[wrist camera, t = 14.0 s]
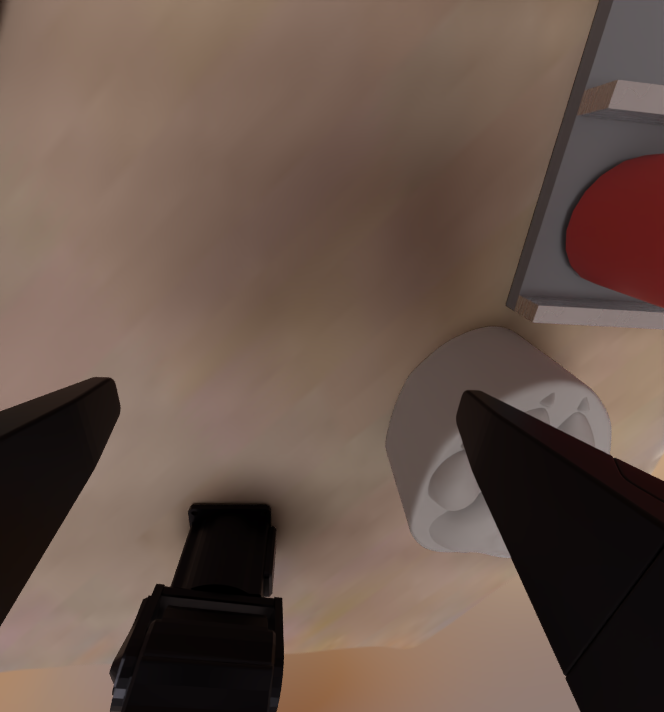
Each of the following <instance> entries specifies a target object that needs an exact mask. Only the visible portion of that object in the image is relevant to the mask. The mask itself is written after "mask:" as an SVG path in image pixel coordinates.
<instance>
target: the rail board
mask: <svg viewBox="0 0 664 712" xmlns="http://www.w3.org/2000/svg"><path fill="white" fill-rule="evenodd" d="M652 154H664V0H600V1H599V4H598V8H597V11H596V14H595V17H594V21H593V24H592V27H591V30H590V34H589V37H588V40H587V43H586V47H585V50H584V53H583V56H582V60H581V63H580V66H579V69H578V72H577V76H576V79H575V82H574V85H573V89H572V92H571V95H570V98H569V102H568V105H567V108H566V111H565V115H564V118H563V121H562V124H561V128H560V131H559V134H558V137H557V141H556V144H555V147H554V150H553V154H552V157H551V160H550V163H549V167H548V170H547V173H546V176H545V180H544V183H543V186H542V189H541V193H540V196H539V199H538V202H537V206H536V209H535V212H534V215H533V219H532V222H531V225H530V228H529V232H528V235H527V238H526V241H525V245H524V248H523V251H522V254H521V258H520V261H519V264H518V267H517V271H516V274H515V277H514V280H513V284H512V287H511V290H510V293H509V297H508V300H507V303H506V306H507V307H509V308H510V309H512V310H514V311H515V312H517V313H518V314H520V315H522V316H523V317H525V318H526V319H528V320H530V321H531V322H533V323H552V324H571V325H590V326H609V327H628V328H647V329H664V308H662V307H659V306H656V305H653V304H650V303H648V302H645V301H642V300H639V299H636V298H634V297H631V296H628V295H625V294H622V293H619V292H617V291H614V290H611V289H608V288H605V287H603V286H600V285H597V284H594V283H592V282H590V281H588V280H586V279H583V278H581V277H580V276H579V275H578V273H577V272H576V271H575V270H574V269H573V268H572V266H571V265H570V262H569V259H568V255H567V252H566V230H567V227H568V224H569V221H570V219H571V216H572V213H573V210H574V209H575V207H576V205H577V204H578V202H579V201H580V199H581V198H582V196H583V194H584V193H585V191H586V190H587V189H588V188H589V187H590V186H591V185H592V184H593V183H594V182H595V181H596V180H597V179H598V178H599V177H600V176H601V175H603V174H604V173H606V172H607V171H609V170H611V169H612V168H614V167H616V166H617V165H619V164H621V163H622V162H624V161H626V160H630V159H633V158H637V157H640V156H644V155H652Z"/></svg>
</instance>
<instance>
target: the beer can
mask: <svg viewBox="0 0 664 712" xmlns="http://www.w3.org/2000/svg"><path fill="white" fill-rule="evenodd" d="M566 252H567V255H568V259H569V262H570V265H571V266H572V268H573V269H574V270H575V271H576V272H577V273H578V275H579V276H580V277H581V278H583V279H586V280H588V281H590V282H592V283H594V284H597V285H600V286H603V287H605V288H608V289H611V290H614V291H617V292H619V293H622V294H625V295H628V296H631V297H634V298H636V299H639V300H642V301H645V302H648V303H650V304H653V305H656V306H659V307H662V308H664V154H652V155H644V156H640V157H637V158H633V159H630V160H626V161H624V162H622V163H621V164H619V165H617V166H616V167H614V168H612V169H611V170H609V171H607V172H606V173H604V174H603V175H601V176H600V177H599V178H598V179H597V180H596V181H595V182H594V183H593V184H592V185H591V186H590V187H589V188H588V189H587V190H586V191H585V193H584V194H583V196H582V198H581V199H580V201H579V202H578V204H577V205H576V207H575V209H574V210H573V213H572V216H571V219H570V221H569V224H568V227H567V230H566Z"/></svg>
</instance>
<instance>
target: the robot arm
mask: <svg viewBox="0 0 664 712" xmlns="http://www.w3.org/2000/svg"><path fill="white" fill-rule="evenodd" d="M119 415H120V402H119V397H118V393H117V388H116V384H115V381H114V380H113V379H112V378H108V377H93V378H90V379H87V380H84V381H82V382H79V383H76V384H74V385H71V386H68V387H65V388H63V389H60V390H57V391H54V392H52V393H49V394H46V395H44V396H41V397H38V398H35V399H33V400H30V401H27V402H24V403H22V404H19V405H16V406H14V407H11V408H8V409H5V410H3V411H0V626H1V624H2V623H3V621H4V619H5V618H6V616H7V614H8V613H9V611H10V609H11V608H12V606H13V604H14V603H15V601H16V599H17V598H18V596H19V594H20V593H21V591H22V589H23V588H24V586H25V584H26V583H27V581H28V579H29V578H30V576H31V574H32V573H33V571H34V569H35V568H36V566H37V564H38V563H39V561H40V559H41V558H42V556H43V554H44V553H45V551H46V549H47V548H48V546H49V544H50V543H51V541H52V539H53V538H54V536H55V534H56V533H57V531H58V529H59V528H60V526H61V524H62V523H63V521H64V519H65V518H66V516H67V514H68V513H69V511H70V509H71V508H72V506H73V504H74V503H75V501H76V499H77V498H78V496H79V494H80V493H81V491H82V489H83V488H84V486H85V484H86V483H87V481H88V479H89V478H90V476H91V474H92V472H93V471H94V469H95V467H96V465H97V463H98V461H99V459H100V457H101V455H102V452H103V450H104V448H105V446H106V444H107V441H108V439H109V437H110V435H111V433H112V430H113V428H114V426H115V424H116V422H117V419H118V417H119ZM456 424H457V427H458V430H459V433H460V436H461V440H462V443H463V446H464V449H465V452H466V455H467V458H468V461H469V464H470V467H471V470H472V472H473V475H474V477H475V479H476V482H477V484H478V486H479V488H480V490H481V493H482V495H483V497H484V499H485V501H486V504H487V506H488V508H489V510H490V513H491V515H492V517H493V519H494V521H495V524H496V526H497V528H498V530H499V532H500V535H501V537H502V539H503V541H504V543H505V546H506V548H507V550H508V552H509V554H510V557H511V559H512V561H513V563H514V565H515V568H516V570H517V572H518V574H519V576H520V579H521V581H522V583H523V585H524V587H525V590H526V592H527V594H528V596H529V598H530V601H531V603H532V605H533V607H534V610H535V612H536V614H537V616H538V618H539V620H540V623H541V625H542V627H543V629H544V632H545V634H546V636H547V638H548V640H549V643H550V645H551V647H552V649H553V651H554V653H555V656H556V658H557V660H558V663H559V665H560V667H561V669H562V671H563V674H564V675H565V676H566V681H567V683H568V685H569V687H570V690H571V692H572V694H573V696H574V698H575V701H576V703H577V705H578V707H579V709H580V712H664V481H662V480H660V479H658V478H656V477H654V476H652V475H650V474H648V473H646V472H644V471H642V470H640V469H638V468H636V467H633V466H631V465H629V464H627V463H625V462H623V461H621V460H619V459H617V458H613V457H612V456H611V455H609V454H607V453H605V452H603V451H601V450H599V449H597V448H595V447H593V446H591V445H589V444H587V443H585V442H583V441H581V440H579V439H577V438H575V437H573V436H571V435H569V434H567V433H565V432H563V431H561V430H559V429H557V428H555V427H553V426H551V425H549V424H547V423H545V422H543V421H541V420H539V419H537V418H535V417H533V416H531V415H529V414H527V413H525V412H523V411H521V410H519V409H517V408H515V407H513V406H511V405H509V404H507V403H505V402H503V401H501V400H499V399H497V398H495V397H493V396H491V395H489V394H487V393H485V392H483V391H480V390H465V391H464V392H463V394H462V396H461V400H460V403H459V407H458V410H457V414H456ZM188 516H189V523H190V530H189V533H188V536H187V539H186V542H185V545H184V548H183V551H182V554H181V557H180V560H179V563H178V566H177V569H176V572H175V575H174V578H173V581H172V584H171V587H167V586H165V585H163V584H156V586H155V588H154V591H153V593H152V595H151V596H148V597H147V598H145V599H143V601H142V604H141V606H140V609H139V611H138V614H137V616H136V619H135V621H134V624H133V626H132V628H131V630H130V632H129V634H128V636H127V637H126V639H125V641H124V643H123V645H122V646H121V648H120V650H119V652H118V654H117V656H116V657H115V659H114V661H113V664H112V666H111V669H110V673H109V674H110V676H111V679H112V681H113V683H114V687H113V691H112V695H113V699H112V703H111V708H110V712H276V711H277V708H278V703H279V698H280V692H281V685H282V678H283V665H284V640H283V608H282V598H279V597H274V598H266V597H270V595H271V594H272V590H273V578H274V566H275V554H276V528H275V527H274V526H271V507H270V506H268V505H192V506H191V507H190V508H189V511H188Z"/></svg>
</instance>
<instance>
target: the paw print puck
mask: <svg viewBox="0 0 664 712" xmlns="http://www.w3.org/2000/svg"><path fill="white" fill-rule="evenodd" d="M465 390H480V391H483V392H485V393H487V394H489V395H491V396H493V397H495V398H497V399H499V400H501V401H503V402H505V403H507V404H509V405H511V406H513V407H515V408H517V409H519V410H521V411H523V412H525V413H527V414H529V415H531V416H533V417H535V418H537V419H539V420H541V421H543V422H545V423H547V424H549V425H551V426H553V427H555V428H557V429H559V430H561V431H563V432H565V433H567V434H569V435H571V436H573V437H575V438H577V439H579V440H581V441H583V442H585V443H587V444H589V445H591V446H593V447H595V448H597V449H599V450H601V451H603V452H605V453H607V454H609V455H610V449H611V422H610V419H609V416H608V413H607V411H606V408H605V406H604V405H603V403H602V402H601V400H600V399H599V397H598V396H597V395H596V394H595V392H594V391H593V390H592V389H591V388H589V387H588V386H587V385H585V384H584V383H583V382H581V381H580V380H579V379H578V378H576V377H575V376H574V375H572V374H571V373H570V372H568V371H567V370H566V369H564V368H563V367H562V366H560V365H559V364H557V363H556V362H555V361H553V360H552V359H551V358H549V357H548V356H547V355H545V354H544V353H543V352H541V351H540V350H538V349H537V348H536V347H534V346H533V345H532V344H530V343H529V342H527V341H526V340H525V339H523V338H522V337H521V336H519V335H518V334H516V333H515V332H513V331H512V330H509V329H507V328H503V327H496V326H489V327H482V328H478V329H475V330H472V331H469V332H466V333H464V334H462V335H459V336H457V337H455V338H453V339H451V340H449V341H448V342H446V343H445V344H443V345H442V346H440V347H439V348H438V349H437V350H435V351H434V352H433V353H432V354H431V355H429V356H428V357H427V358H426V359H425V360H424V361H423V362H422V363H420V364H419V365H418V366H417V367H416V368H415V369H414V370H413V371H412V372H411V374H410V375H409V376H408V378H407V380H406V381H405V383H404V385H403V387H402V390H401V392H400V394H399V397H398V399H397V402H396V404H395V407H394V410H393V413H392V416H391V419H390V424H389V428H388V432H387V436H386V451H387V455H388V458H389V461H390V465H391V468H392V472H393V475H394V478H395V482H396V485H397V488H398V492H399V495H400V498H401V502H402V505H403V508H404V511H405V515H406V518H407V521H408V525H409V529H410V532H411V534H412V536H413V537H414V539H415V540H416V541H417V542H418V543H419V544H420V545H421V546H423V547H424V548H426V549H429V550H432V551H438V552H462V553H467V552H478V553H483V554H487V555H492V556H496V557H503V558H511V557H510V554H509V552H508V550H507V548H506V546H505V543H504V541H503V539H502V537H501V535H500V532H499V530H498V528H497V526H496V524H495V521H494V519H493V517H492V515H491V513H490V510H489V508H488V506H487V504H486V501H485V499H484V497H483V495H482V493H481V490H480V488H479V486H478V484H477V482H476V479H475V477H474V475H473V472H472V470H471V467H470V464H469V461H468V458H467V455H466V452H465V449H464V446H463V443H462V440H461V436H460V433H459V430H458V427H457V424H456V414H457V410H458V407H459V403H460V400H461V396H462V394H463V392H464V391H465Z"/></svg>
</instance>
